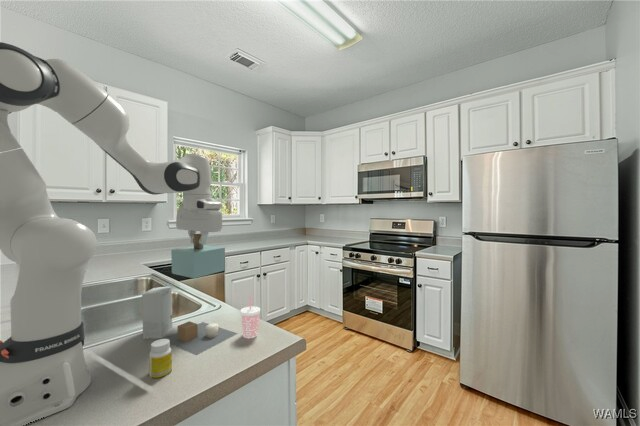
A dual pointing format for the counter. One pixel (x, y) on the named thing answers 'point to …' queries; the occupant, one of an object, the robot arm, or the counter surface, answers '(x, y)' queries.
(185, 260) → the cover
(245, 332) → the beverage cup
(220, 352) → the counter surface
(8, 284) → the counter surface
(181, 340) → the mat
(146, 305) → the skincare box
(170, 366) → the supplement bottle
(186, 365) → the counter surface
